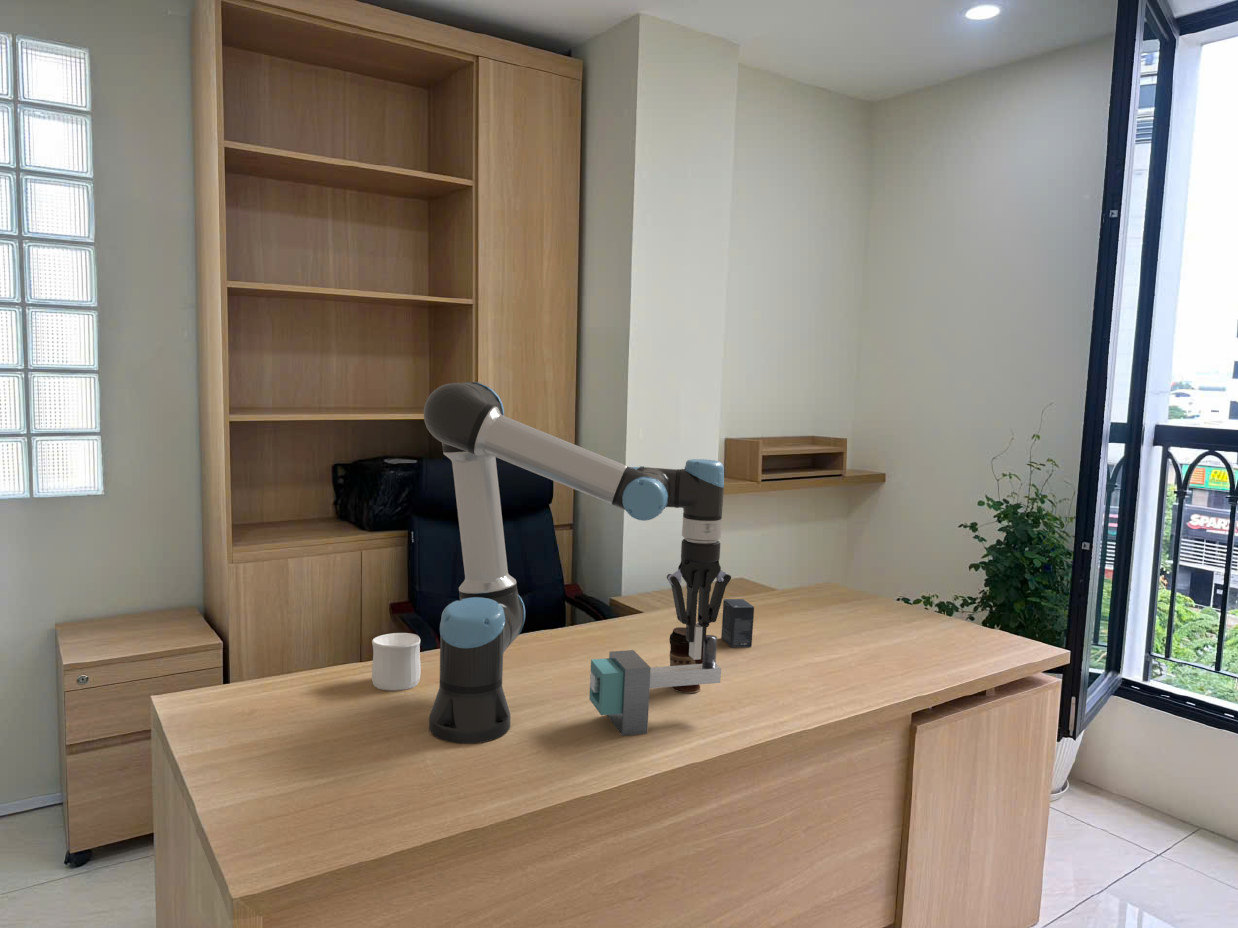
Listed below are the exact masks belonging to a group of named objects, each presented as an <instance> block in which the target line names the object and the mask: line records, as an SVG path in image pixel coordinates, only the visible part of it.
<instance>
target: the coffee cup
mask: <svg viewBox="0 0 1238 928" xmlns="http://www.w3.org/2000/svg"><path fill="white" fill-rule="evenodd" d="M668 640H669V649H670V651H669V666H679V665H693V664H702V661H703V644H704V641H702V647H701V659H697V660H694V659H693V658H692V657H690V656H689V643H690V642H688V641H687V640H686V626H685V627H683V626H682V627H674V628H673V629H672V632H671V633H670V635H669V639H668ZM671 689H672V690H674V691H676V692H680V693H689V694H692V693H698V692H700V691H701V684H698V685H685V686H673V687H671Z"/></svg>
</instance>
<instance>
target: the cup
mask: <svg viewBox="0 0 1238 928" xmlns="http://www.w3.org/2000/svg"><path fill="white" fill-rule="evenodd" d="M371 644H372V650H373V651H372V652H373V656H372V666H371V681H372V685H373V686H374V687H375V688H376V689H378V690H383V691H391V692H392V691H394V692H395V691H405V690H410V689H413V688H415V687H416V686H417V685H418V684H419V682H420V680H421V673H422V672H421V667H422V665H421V657H420V655H421V654H420V653H421V652H420V650H421V648H420V646H421V638H420V636H419V635H418V634H415V633H410V632H409V633H408V632H393V633H387V634H382V635H378V636H376V637H374V638H373V639H372V640H371Z"/></svg>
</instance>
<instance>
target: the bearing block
mask: <svg viewBox="0 0 1238 928" xmlns="http://www.w3.org/2000/svg"><path fill="white" fill-rule="evenodd" d="M608 655H609V656H608V658H611V659H612V660H613V661H614V662H615V664H616V665H617V666H618V667H619V668H620V669H621V670H622V672H623V691H622V711H621V714H611V715H606V716H607V718H608V719H609V720H610V721H611V723H612V725H613V726H614V727H615V728H616V730H617V731H618V733H619V734H620V735H621V736H622V737H627V736H639V735H647V734H648V729H649V728H648V726H649V723H648V722H649V708H650V707H649V705H650V690H651V688H650V670H651V667H652V666H650V665H649V664H648V663H647V662H646V661H645V660H644V659H643V658H642V657H641V656H640V655H639V654H638V653H637V652H636V651H635V650H633V649H628V650H627V649H626V650H611V651H609V654H608Z"/></svg>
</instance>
